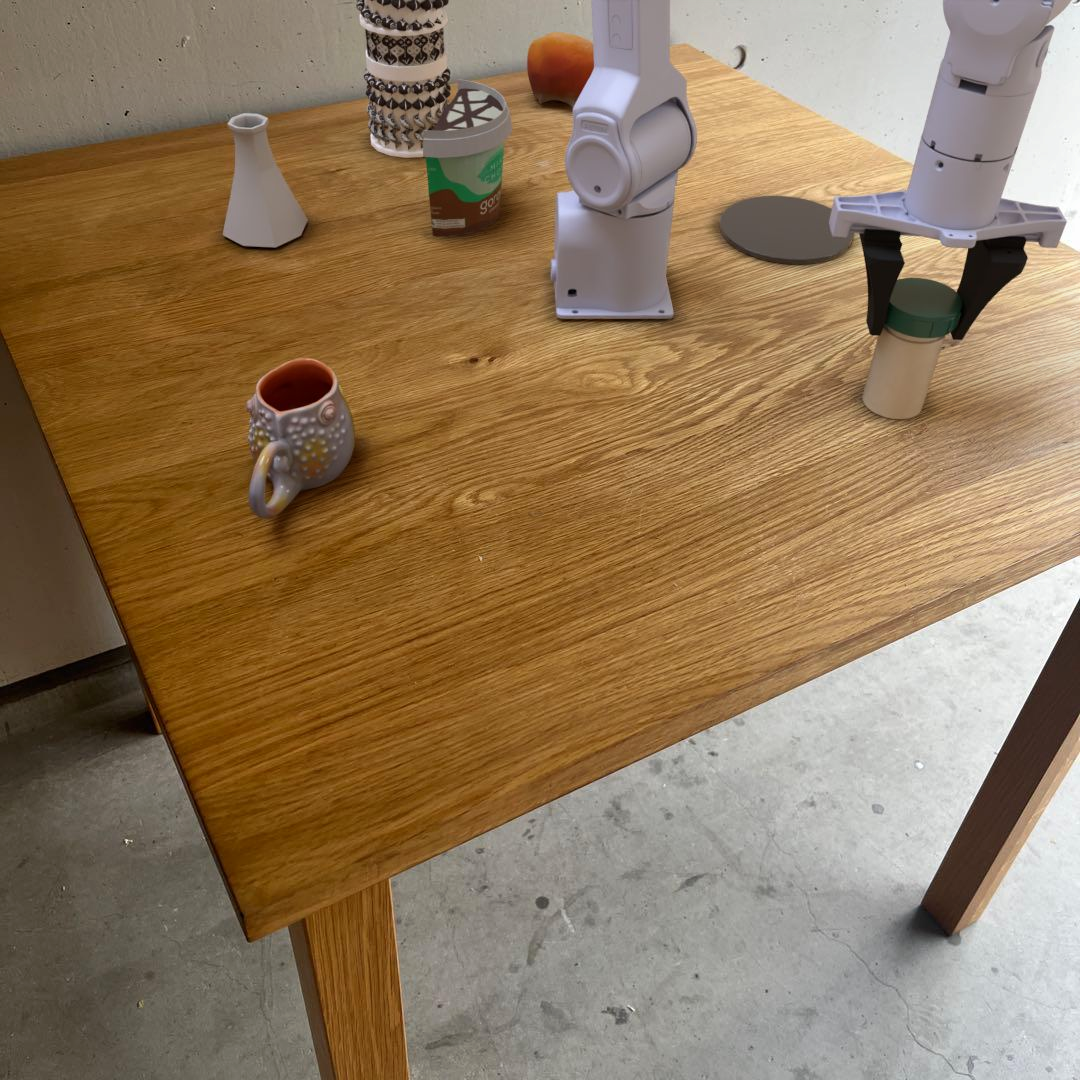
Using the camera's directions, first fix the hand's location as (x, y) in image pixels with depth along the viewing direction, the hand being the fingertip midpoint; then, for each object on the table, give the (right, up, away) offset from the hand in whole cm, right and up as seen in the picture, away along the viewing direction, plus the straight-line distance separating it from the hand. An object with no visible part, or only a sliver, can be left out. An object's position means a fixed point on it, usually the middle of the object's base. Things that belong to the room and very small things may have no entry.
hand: (913, 330), depth 77 cm
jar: (0, -4, +4) cm, 6 cm away
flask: (-51, +13, +21) cm, 57 cm away
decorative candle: (-39, +26, +36) cm, 59 cm away
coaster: (-4, +13, +23) cm, 27 cm away
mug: (-43, -11, -4) cm, 44 cm away
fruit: (-24, +34, +44) cm, 61 cm away
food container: (-32, +15, +24) cm, 43 cm away
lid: (0, +2, -2) cm, 2 cm away
